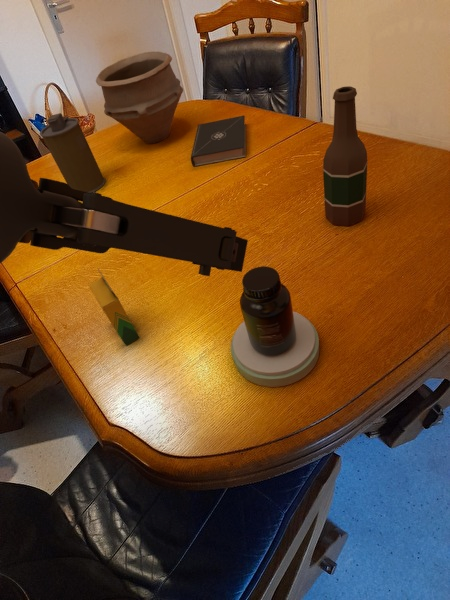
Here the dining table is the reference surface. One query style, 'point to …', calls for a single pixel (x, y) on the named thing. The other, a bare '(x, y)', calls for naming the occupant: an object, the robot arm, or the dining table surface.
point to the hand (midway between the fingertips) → (176, 244)
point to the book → (219, 141)
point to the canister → (72, 153)
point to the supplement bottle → (267, 311)
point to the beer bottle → (345, 164)
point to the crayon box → (114, 310)
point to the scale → (277, 356)
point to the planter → (142, 94)
